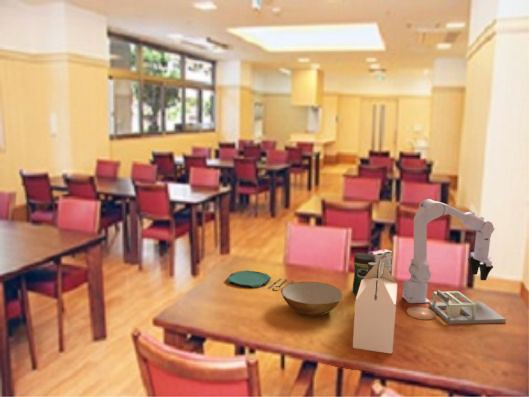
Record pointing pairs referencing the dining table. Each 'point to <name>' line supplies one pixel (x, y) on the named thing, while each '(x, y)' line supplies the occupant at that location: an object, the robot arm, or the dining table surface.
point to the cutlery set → (252, 279)
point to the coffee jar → (361, 269)
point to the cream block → (454, 309)
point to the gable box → (375, 311)
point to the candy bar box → (383, 257)
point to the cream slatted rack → (445, 298)
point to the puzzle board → (469, 314)
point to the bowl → (311, 297)
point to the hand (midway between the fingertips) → (478, 277)
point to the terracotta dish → (421, 313)
